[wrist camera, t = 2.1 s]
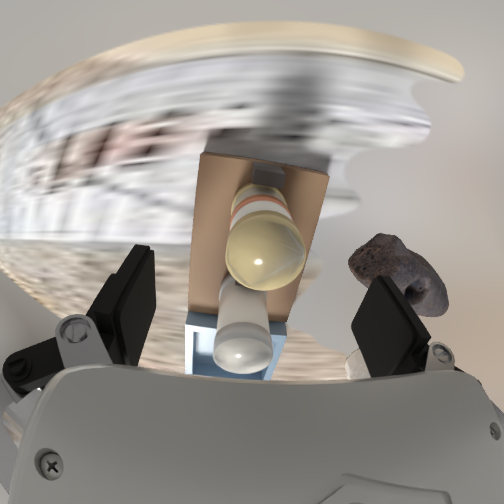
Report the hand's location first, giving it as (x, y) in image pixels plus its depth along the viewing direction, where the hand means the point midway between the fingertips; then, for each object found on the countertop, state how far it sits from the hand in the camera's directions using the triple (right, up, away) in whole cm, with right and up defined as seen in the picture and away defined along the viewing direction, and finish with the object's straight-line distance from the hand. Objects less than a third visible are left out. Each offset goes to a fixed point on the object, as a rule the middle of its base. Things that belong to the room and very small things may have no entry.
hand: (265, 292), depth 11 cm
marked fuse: (0, +5, +10) cm, 11 cm away
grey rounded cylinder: (-1, -2, +14) cm, 14 cm away
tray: (-3, -9, +20) cm, 22 cm away
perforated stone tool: (+15, 0, +15) cm, 21 cm away
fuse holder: (-1, +2, +13) cm, 14 cm away
